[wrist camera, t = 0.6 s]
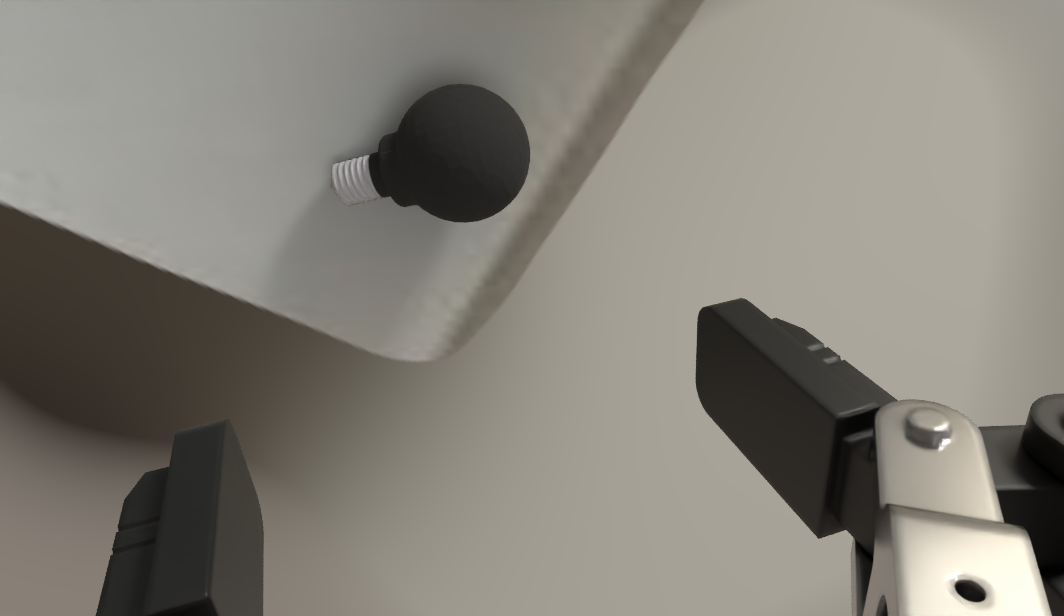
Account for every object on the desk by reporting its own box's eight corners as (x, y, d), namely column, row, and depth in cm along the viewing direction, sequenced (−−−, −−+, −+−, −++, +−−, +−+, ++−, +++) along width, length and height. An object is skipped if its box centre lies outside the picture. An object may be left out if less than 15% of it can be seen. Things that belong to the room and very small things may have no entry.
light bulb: (284, 171, 32) (506, 114, 30) (314, 97, 37) (508, 44, 35) (349, 277, 36) (546, 233, 34) (368, 199, 41) (544, 156, 39)
